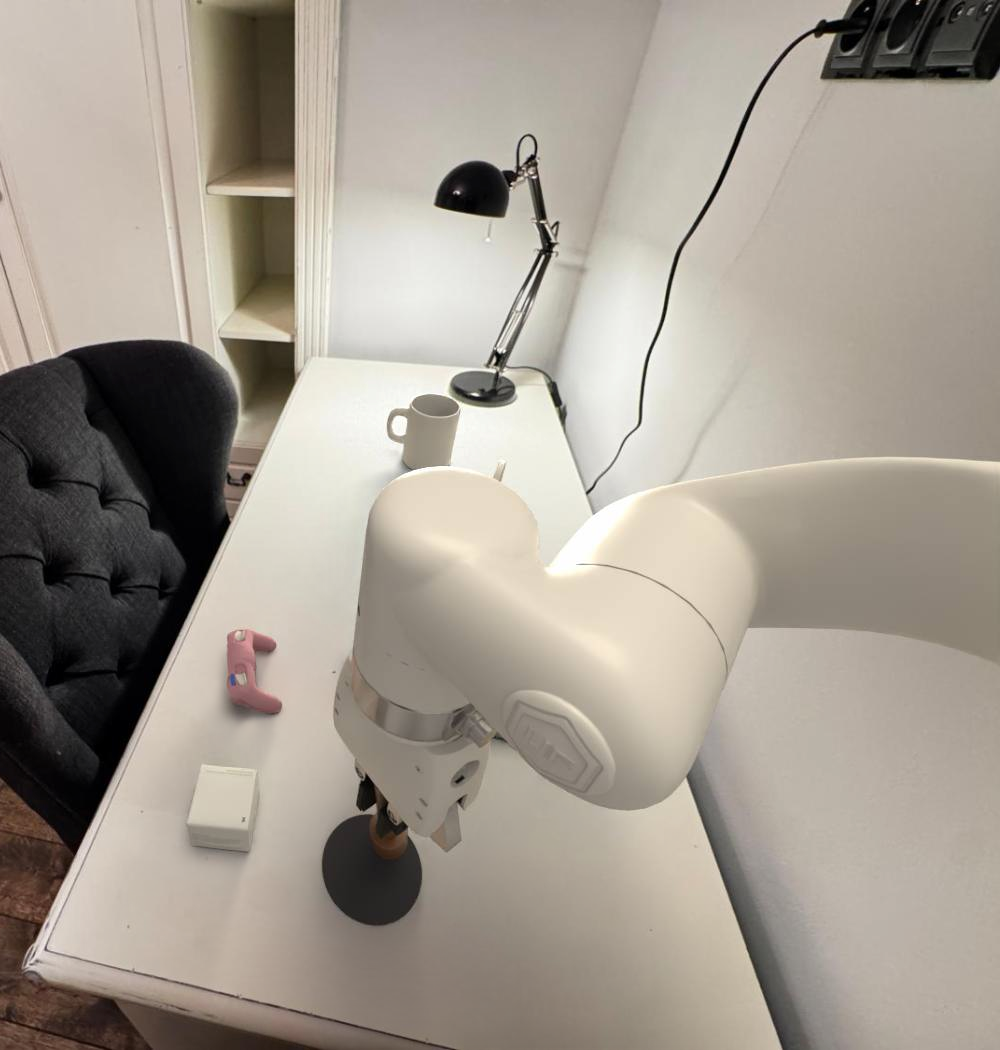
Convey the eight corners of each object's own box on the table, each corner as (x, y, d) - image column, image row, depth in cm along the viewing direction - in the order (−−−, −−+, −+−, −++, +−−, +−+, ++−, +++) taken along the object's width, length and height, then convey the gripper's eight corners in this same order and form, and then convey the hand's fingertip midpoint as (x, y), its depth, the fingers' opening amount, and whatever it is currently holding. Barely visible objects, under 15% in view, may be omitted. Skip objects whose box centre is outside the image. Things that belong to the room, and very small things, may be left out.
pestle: (414, 847, 49) (416, 790, 39) (383, 866, 49) (377, 813, 39) (395, 812, 52) (392, 750, 42) (364, 830, 51) (354, 771, 41)
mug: (453, 452, 104) (464, 397, 97) (446, 477, 98) (457, 421, 91) (388, 440, 107) (395, 386, 100) (378, 464, 101) (384, 409, 94)
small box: (260, 791, 57) (258, 768, 54) (251, 853, 52) (248, 832, 49) (204, 786, 57) (199, 762, 54) (190, 847, 53) (183, 825, 50)
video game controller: (247, 654, 71) (217, 624, 67) (279, 641, 70) (251, 610, 66) (250, 726, 64) (217, 698, 59) (286, 713, 63) (255, 683, 58)
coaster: (442, 882, 51) (443, 881, 50) (363, 950, 47) (363, 949, 47) (378, 797, 56) (378, 795, 56) (303, 851, 53) (303, 850, 52)
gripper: (577, 747, 29) (493, 876, 41) (379, 565, 39) (359, 711, 51) (473, 833, 26) (415, 945, 38) (287, 610, 36) (288, 755, 48)
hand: (383, 810), depth 44 cm, fingers closed on pestle
